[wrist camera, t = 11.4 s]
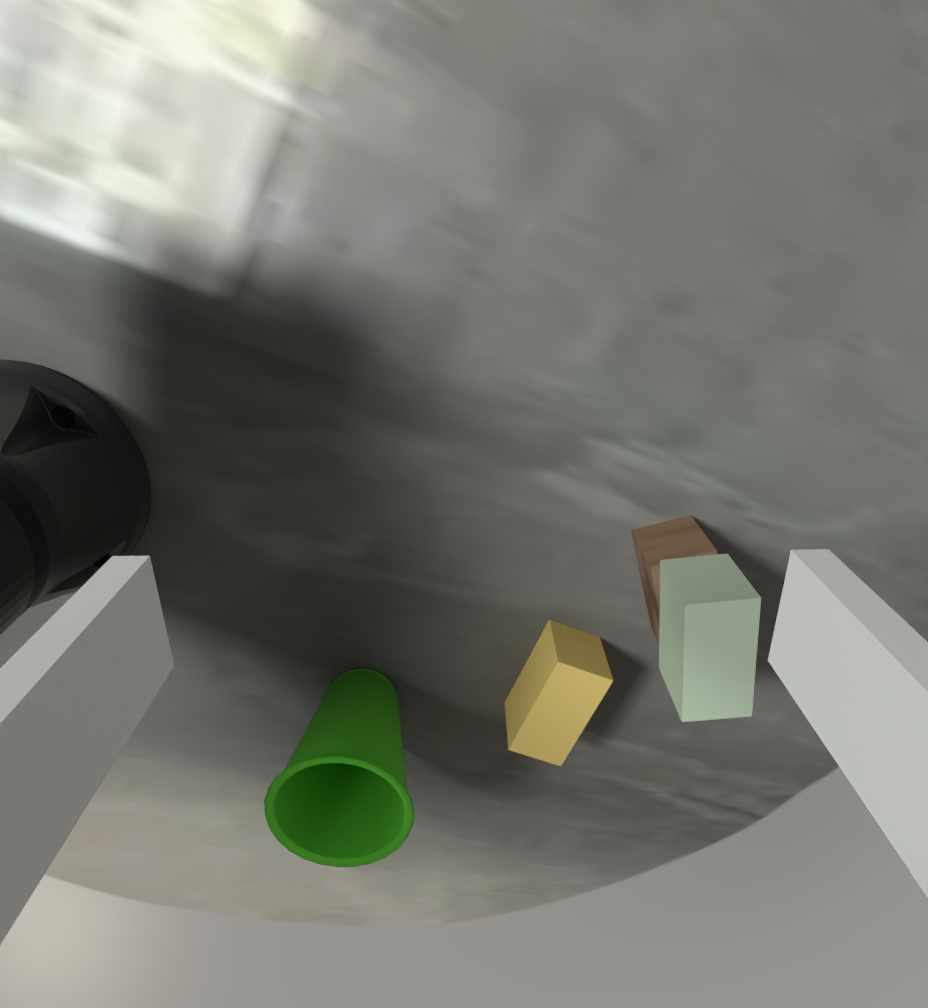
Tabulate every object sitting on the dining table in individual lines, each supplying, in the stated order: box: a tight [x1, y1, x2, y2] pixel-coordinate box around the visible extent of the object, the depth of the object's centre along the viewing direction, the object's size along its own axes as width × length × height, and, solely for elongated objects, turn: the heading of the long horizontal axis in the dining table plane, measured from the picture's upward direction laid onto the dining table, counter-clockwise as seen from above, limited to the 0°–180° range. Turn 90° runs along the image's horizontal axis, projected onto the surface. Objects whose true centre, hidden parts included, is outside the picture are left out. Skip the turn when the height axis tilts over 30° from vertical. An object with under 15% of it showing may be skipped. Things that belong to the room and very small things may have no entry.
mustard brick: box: [505, 619, 613, 766], centre depth 48 cm, size 8×4×5 cm, turn 158°
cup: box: [264, 669, 414, 867], centre depth 46 cm, size 9×9×11 cm
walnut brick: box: [632, 516, 717, 643], centre depth 44 cm, size 8×4×5 cm, turn 16°
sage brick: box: [659, 554, 761, 722], centre depth 40 cm, size 8×4×5 cm, turn 6°
